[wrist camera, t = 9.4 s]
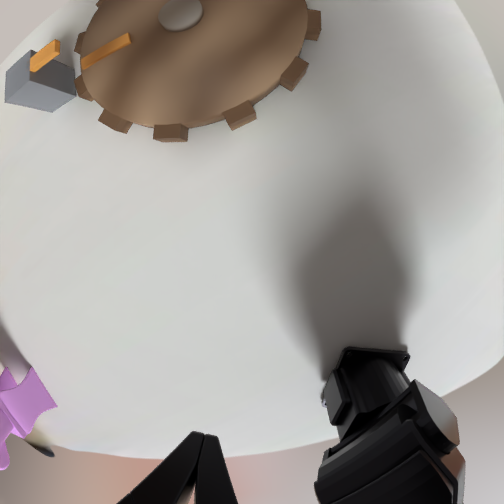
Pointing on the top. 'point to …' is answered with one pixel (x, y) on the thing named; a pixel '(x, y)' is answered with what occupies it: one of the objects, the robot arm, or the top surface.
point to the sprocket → (190, 60)
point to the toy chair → (20, 407)
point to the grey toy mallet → (40, 80)
